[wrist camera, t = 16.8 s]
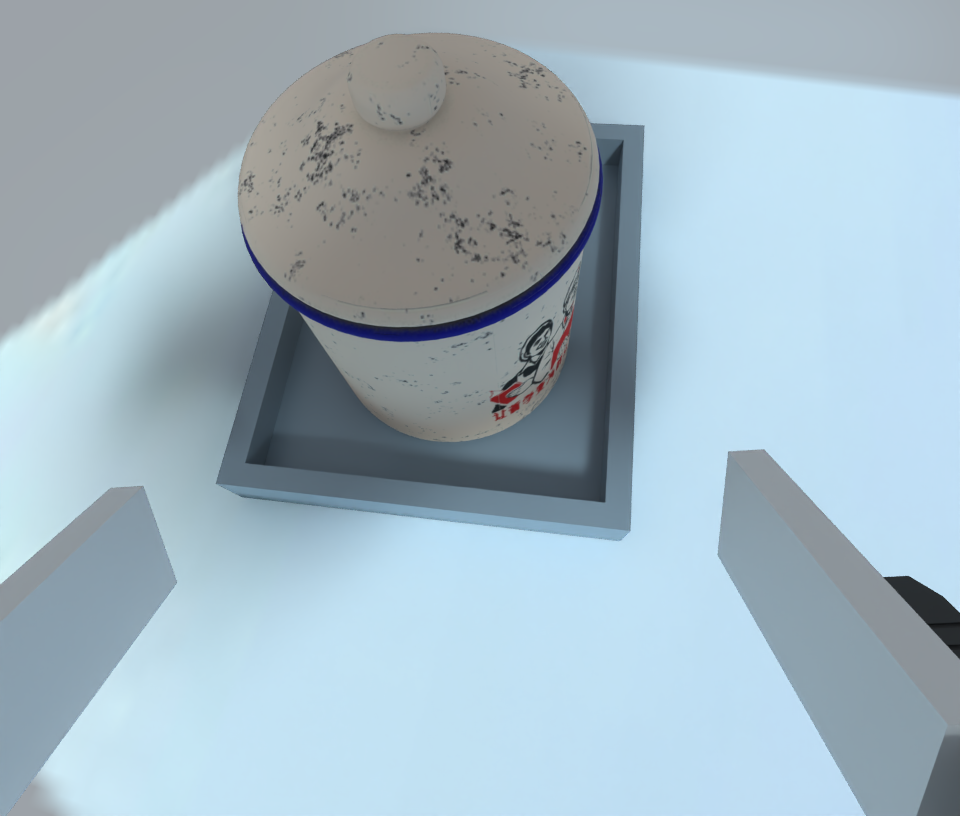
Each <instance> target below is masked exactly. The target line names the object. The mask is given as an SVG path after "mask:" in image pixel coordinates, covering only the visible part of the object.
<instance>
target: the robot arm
mask: <svg viewBox="0 0 960 816" xmlns="http://www.w3.org/2000/svg"><path fill="white" fill-rule="evenodd" d="M718 557H719V558H720V560H721V562H722V564H723V565H724V567H725V569H726V571H727V572H728V574H729V576H730V578H731V579H732V581H733V583H734V585H735V586H736V588H737V590H738V592H739V593H740V595H741V597H742V599H743V600H744V602H745V604H746V606H747V608H748V609H749V611H750V613H751V615H752V616H753V618H754V620H755V622H756V623H757V625H758V627H759V629H760V630H761V632H762V634H763V636H764V637H765V639H766V641H767V643H768V644H769V646H770V648H771V650H772V651H773V653H774V655H775V657H776V658H777V660H778V662H779V664H780V665H781V667H782V669H783V671H784V673H785V674H786V676H787V678H788V680H789V681H790V683H791V685H792V687H793V688H794V690H795V692H796V694H797V695H798V697H799V699H800V701H801V702H802V704H803V706H804V708H805V709H806V711H807V713H808V715H809V716H810V718H811V720H812V722H813V723H814V725H815V727H816V729H817V730H818V732H819V734H820V736H821V737H822V739H823V741H824V743H825V745H826V746H827V748H828V750H829V752H830V753H831V755H832V757H833V759H834V760H835V762H836V764H837V766H838V767H839V769H840V771H841V773H842V774H843V776H844V778H845V780H846V781H847V783H848V785H849V787H850V788H851V790H852V792H853V794H854V795H855V797H856V799H857V801H858V802H859V804H860V806H861V808H862V810H863V811H864V813H865V815H866V816H960V613H959V612H958V611H957V610H956V609H955V608H954V607H953V606H952V605H951V604H950V603H949V602H948V601H947V600H946V599H945V598H944V597H943V596H941V595H939V594H938V593H936V592H934V591H933V590H931V589H929V588H928V587H926V586H924V585H923V584H921V583H919V582H918V581H916V580H914V579H913V578H911V577H909V576H897V577H882V575H881V574H880V573H879V572H878V571H877V570H876V569H875V568H874V567H873V566H872V565H871V564H870V563H869V562H868V560H867V559H866V558H865V557H864V556H863V555H862V554H861V553H860V552H859V551H858V550H857V549H856V548H855V546H854V545H853V544H852V543H851V542H850V541H849V540H848V539H847V538H846V537H845V536H844V535H843V534H842V533H841V531H840V530H839V529H838V528H837V527H836V526H835V525H834V524H833V523H832V522H831V521H830V520H829V519H828V518H827V516H826V515H825V514H824V513H823V512H822V511H821V510H820V509H819V508H818V507H817V506H816V505H815V504H814V502H813V501H812V500H811V499H810V498H809V497H808V496H807V495H806V494H805V493H804V492H803V491H802V490H801V489H800V487H799V486H798V485H797V484H796V483H795V482H794V481H793V480H792V479H791V478H790V477H789V476H788V475H787V474H786V472H785V471H784V470H783V469H782V468H781V467H780V466H779V465H778V464H777V463H776V462H775V461H774V460H773V458H772V457H771V456H770V455H769V454H768V453H767V452H766V451H765V450H747V451H730V452H728V459H727V469H726V478H725V488H724V497H723V507H722V517H721V526H720V536H719V545H718ZM176 584H177V580H176V578H175V575H174V572H173V569H172V566H171V563H170V561H169V558H168V555H167V552H166V549H165V546H164V544H163V541H162V538H161V535H160V532H159V529H158V527H157V524H156V521H155V518H154V515H153V512H152V510H151V507H150V504H149V501H148V498H147V495H146V493H145V490H144V487H143V486H137V487H120V488H110V489H109V490H108V491H107V492H106V493H104V494H103V495H102V496H101V497H100V498H99V499H98V500H96V501H95V502H94V503H93V504H92V505H91V506H90V507H89V508H87V509H86V510H85V511H84V512H83V513H82V514H81V515H79V516H78V517H77V518H76V519H75V520H74V521H73V522H71V523H70V524H69V525H68V526H67V527H66V528H65V529H63V530H62V531H61V532H60V533H59V534H58V535H57V536H55V537H54V538H53V539H52V540H51V541H50V542H49V543H47V544H46V545H45V546H44V547H43V548H42V549H41V550H39V551H38V552H37V553H36V554H35V555H34V556H33V557H31V558H30V559H29V560H28V561H27V562H26V563H25V564H24V565H22V566H21V567H20V568H19V569H18V570H17V571H16V572H14V573H13V574H12V575H11V576H10V577H9V578H8V579H6V580H5V581H4V582H3V583H2V584H1V585H0V816H7V814H8V813H9V812H10V810H11V809H12V807H13V806H14V805H15V803H16V802H17V801H18V799H19V798H20V797H21V795H22V794H23V792H24V791H25V789H26V788H27V787H28V786H29V784H30V783H31V781H32V780H33V779H34V777H35V776H36V775H37V773H38V772H39V771H40V769H41V768H42V767H43V765H44V764H45V762H46V761H47V760H48V758H49V757H50V756H51V754H52V753H53V752H54V750H55V749H56V747H57V746H58V745H59V743H60V742H61V741H62V739H63V738H64V736H65V735H66V734H67V732H68V731H69V730H70V728H71V727H72V726H73V724H74V723H75V721H76V720H77V719H78V717H79V716H80V715H81V713H82V712H83V711H84V709H85V708H86V706H87V705H88V704H89V702H90V701H91V700H92V698H93V697H94V696H95V694H96V693H97V691H98V690H99V689H100V687H101V686H102V685H103V683H104V682H105V681H106V679H107V678H108V676H109V675H110V674H111V672H112V671H113V670H114V668H115V667H116V665H117V664H118V663H119V661H120V660H121V659H122V657H123V656H124V655H125V653H126V652H127V650H128V649H129V648H130V646H131V645H132V644H133V642H134V641H135V640H136V638H137V637H138V635H139V634H140V633H141V631H142V630H143V629H144V627H145V626H146V625H147V623H148V622H149V620H150V619H151V618H152V616H153V615H154V614H155V612H156V611H157V610H158V608H159V607H160V605H161V604H162V603H163V601H164V600H165V599H166V597H167V596H168V594H169V593H170V592H171V590H172V589H173V588H174V586H175V585H176Z"/></svg>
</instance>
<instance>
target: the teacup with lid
mask: <svg viewBox="0 0 960 816" xmlns="http://www.w3.org/2000/svg"><path fill="white" fill-rule="evenodd" d="M602 190H603V171H602V162H601V157H600V152H599V148H598V145H597V142H596V138H595V135H594V132H593V129H592V126H591V124H590V122H589V120H588V118H587V115H586V113H585V112H584V110H583V108H582V107H581V105H580V104H579V102H578V101H577V99H576V97H575V96H574V95H573V94H572V92H571V91H570V90H569V89H568V87H567V86H566V85H565V84H564V83H563V82H562V81H561V80H560V79H559V78H558V77H557V76H556V75H555V74H554V73H552V72H551V71H550V70H549V69H547V68H546V67H545V66H543V65H542V64H540V63H539V62H537V61H536V60H534V59H533V58H531V57H529V56H528V55H526V54H524V53H522V52H520V51H518V50H516V49H513V48H511V47H508V46H506V45H504V44H500V43H497V42H494V41H491V40H487V39H483V38H479V37H474V36H468V35H461V34H450V33H419V34H409V35H406V34H391V35H385V36H382V37H379V38H376V39H374V40H372V41H370V42H369V43H366V44H363V45H360V46H357V47H355V48H352V49H350V50H347V51H345V52H343V53H340V54H338V55H336V56H334V57H332V58H330V59H328V60H326V61H325V62H323V63H321V64H320V65H318V66H316V67H315V68H313V69H312V70H310V71H309V72H307V73H306V74H304V75H303V76H301V77H300V78H299V79H298V80H297V81H295V82H294V83H293V84H292V85H291V86H290V87H288V88H287V89H286V90H285V91H284V92H283V93H282V94H281V95H280V96H279V97H278V98H277V99H276V101H275V102H274V103H273V104H272V105H271V106H270V108H269V109H268V110H267V112H266V113H265V114H264V116H263V117H262V119H261V121H260V122H259V124H258V125H257V127H256V129H255V130H254V132H253V134H252V136H251V139H250V141H249V143H248V145H247V148H246V151H245V154H244V157H243V161H242V165H241V170H240V175H239V185H238V208H239V215H240V221H241V228H242V233H243V237H244V240H245V244H246V247H247V249H248V252H249V254H250V256H251V258H252V261H253V263H254V264H255V266H256V268H257V269H258V271H259V273H260V274H261V276H262V277H263V278H264V279H265V281H266V282H267V283H268V285H269V286H270V287H271V288H272V289H273V290H274V291H275V292H276V293H277V294H278V295H279V296H280V297H281V298H282V299H283V300H284V301H285V302H287V303H288V304H289V305H290V306H292V307H293V308H294V309H295V310H297V311H298V312H299V313H300V314H301V316H302V317H303V319H304V320H305V322H306V323H307V324H308V326H309V327H310V329H311V330H312V332H313V333H314V335H315V336H316V338H317V339H318V341H319V342H320V343H321V345H322V346H323V348H324V349H325V351H326V352H327V354H328V355H329V357H330V358H331V359H332V361H333V362H334V364H335V365H336V367H337V368H338V370H339V371H340V373H341V374H342V375H343V377H344V378H345V380H346V381H347V383H348V384H349V386H350V387H351V389H352V390H353V392H354V393H355V394H356V396H357V397H358V399H359V400H360V401H361V402H362V404H363V405H364V406H365V407H366V408H367V409H368V410H369V411H370V412H371V413H372V414H373V415H375V416H376V417H377V418H378V419H379V420H381V421H382V422H384V423H385V424H387V425H388V426H390V427H392V428H394V429H396V430H397V431H399V432H402V433H404V434H407V435H409V436H413V437H416V438H420V439H424V440H430V441H438V442H461V441H469V440H474V439H480V438H483V437H486V436H490V435H493V434H495V433H498V432H500V431H503V430H505V429H506V428H508V427H510V426H512V425H514V424H516V423H517V422H519V421H520V420H522V419H523V418H525V417H526V416H527V415H528V414H530V413H531V412H532V411H533V410H534V409H535V408H536V407H537V406H538V405H539V404H540V403H541V402H542V401H543V400H544V399H545V397H546V396H547V395H548V394H549V392H550V391H551V389H552V388H553V386H554V385H555V383H556V381H557V379H558V377H559V375H560V373H561V370H562V368H563V365H564V362H565V359H566V355H567V349H568V344H569V337H570V331H571V325H572V318H573V312H574V305H575V299H576V293H577V286H578V280H579V274H580V267H581V261H582V255H583V248H584V247H585V245H586V243H587V241H588V240H589V237H590V235H591V233H592V230H593V228H594V226H595V223H596V220H597V216H598V213H599V210H600V204H601V198H602Z"/></svg>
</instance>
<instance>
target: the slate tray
mask: <svg viewBox="0 0 960 816" xmlns="http://www.w3.org/2000/svg"><path fill="white" fill-rule="evenodd" d="M590 124H591V126H592V129H593V132H594V135H595V138H596V142H597V145H598V148H599V152H600V157H601V162H602V171H603V190H602V198H601V204H600V210H599V213H598V216H597V220H596V223H595V226H594V228H593V230H592V233H591V235H590V237H589V240H588V241H587V243H586V245H585V247H584V248H583V255H582V261H581V267H580V274H579V280H578V286H577V293H576V299H575V305H574V312H573V318H572V325H571V331H570V337H569V344H568V349H567V355H566V359H565V362H564V365H563V368H562V370H561V373H560V375H559V377H558V379H557V381H556V383H555V385H554V386H553V388H552V389H551V391H550V392H549V394H548V395H547V396H546V397H545V399H544V400H543V401H542V402H541V403H540V404H539V405H538V406H537V407H536V408H535V409H534V410H533V411H532V412H531V413H530V414H528V415H527V416H526V417H525V418H523V419H522V420H520V421H519V422H517V423H516V424H514V425H512V426H510V427H508V428H506V429H505V430H503V431H500V432H498V433H495V434H493V435H490V436H486V437H483V438H480V439H474V440H469V441H461V442H438V441H430V440H424V439H420V438H416V437H413V436H409V435H407V434H404V433H402V432H399V431H397V430H396V429H394V428H392V427H390V426H388V425H387V424H385V423H384V422H382V421H381V420H379V419H378V418H377V417H376V416H375V415H373V414H372V413H371V412H370V411H369V410H368V409H367V408H366V407H365V406H364V405H363V404H362V402H361V401H360V400H359V399H358V397H357V396H356V394H355V393H354V392H353V390H352V389H351V387H350V386H349V384H348V383H347V381H346V380H345V378H344V377H343V375H342V374H341V373H340V371H339V370H338V368H337V367H336V365H335V364H334V362H333V361H332V359H331V358H330V357H329V355H328V354H327V352H326V351H325V349H324V348H323V346H322V345H321V343H320V342H319V341H318V339H317V338H316V336H315V335H314V333H313V332H312V330H311V329H310V327H309V326H308V324H307V323H306V322H305V320H304V319H303V317H302V316H301V314H300V313H299V312H298V311H297V310H295V309H294V308H293V307H292V306H290V305H289V304H288V303H287V302H285V301H284V300H283V299H282V298H281V297H280V296H279V295H278V294H277V293H276V292H275V291H274V290H273V292H272V295H271V298H270V302H269V305H268V309H267V312H266V315H265V319H264V322H263V326H262V329H261V332H260V336H259V339H258V343H257V346H256V349H255V353H254V356H253V359H252V363H251V366H250V370H249V373H248V376H247V380H246V383H245V387H244V390H243V393H242V397H241V400H240V404H239V407H238V410H237V414H236V417H235V421H234V424H233V427H232V431H231V434H230V438H229V441H228V444H227V448H226V451H225V454H224V458H223V461H222V465H221V468H220V471H219V475H218V478H217V482H216V484H218V485H219V486H221V487H223V488H225V489H227V490H229V491H231V492H233V493H235V494H237V495H239V496H241V497H247V498H255V499H264V500H272V501H281V502H290V503H298V504H307V505H315V506H324V507H333V508H341V509H350V510H358V511H367V512H376V513H384V514H393V515H401V516H410V517H419V518H427V519H436V520H444V521H453V522H462V523H470V524H479V525H487V526H496V527H505V528H513V529H522V530H530V531H539V532H548V533H556V534H565V535H573V536H582V537H590V538H599V539H608V540H616V541H621V540H622V539H623V538H624V537H625V536H626V535H627V534H628V533H629V532H630V525H631V496H632V467H633V438H634V409H635V380H636V351H637V322H638V293H639V264H640V235H641V206H642V177H643V148H644V126H641V125H617V124H593V123H590Z"/></svg>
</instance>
